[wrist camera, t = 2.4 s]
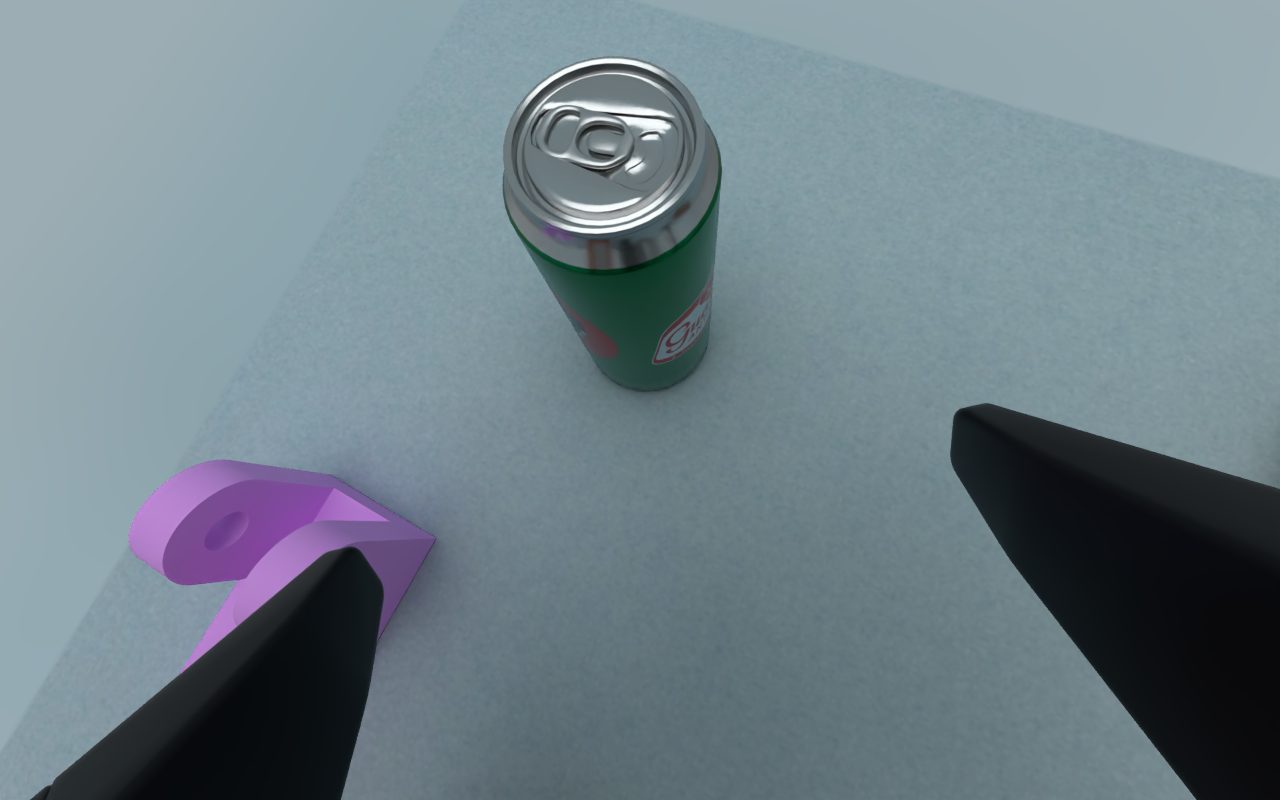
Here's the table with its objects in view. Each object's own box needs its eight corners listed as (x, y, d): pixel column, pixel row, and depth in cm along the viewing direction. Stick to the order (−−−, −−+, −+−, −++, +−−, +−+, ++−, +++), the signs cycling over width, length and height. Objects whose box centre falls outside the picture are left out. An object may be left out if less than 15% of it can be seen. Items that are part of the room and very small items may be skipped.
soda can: (686, 410, 22) (678, 279, 10) (572, 373, 23) (447, 214, 11) (724, 299, 23) (755, 66, 11) (613, 268, 24) (536, 20, 12)
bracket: (329, 474, 23) (177, 452, 16) (436, 538, 22) (321, 543, 15) (142, 775, 21) (-121, 894, 14) (250, 862, 20) (20, 1035, 13)
